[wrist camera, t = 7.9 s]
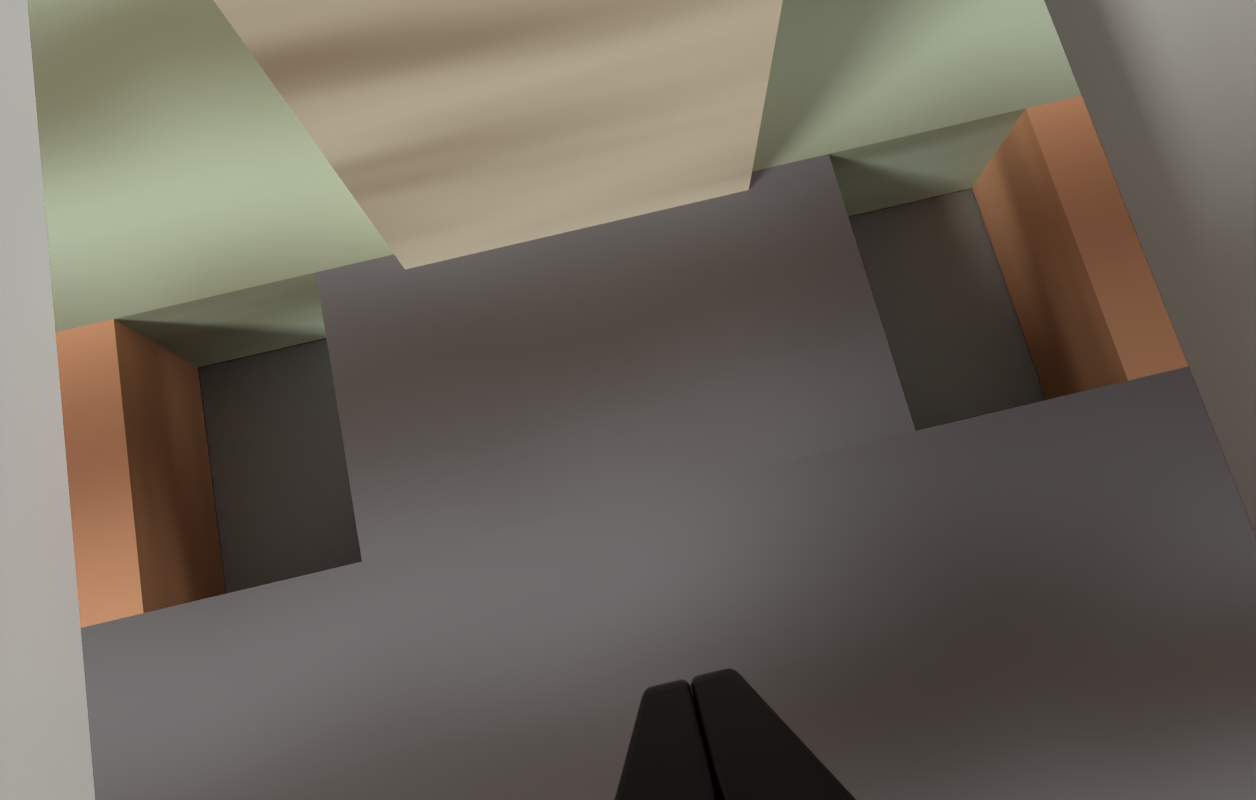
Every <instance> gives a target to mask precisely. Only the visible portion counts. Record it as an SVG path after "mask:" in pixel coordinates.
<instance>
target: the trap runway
mask: <svg viewBox="0 0 1256 800" xmlns="http://www.w3.org/2000/svg"><path fill="white" fill-rule="evenodd" d="M27 1H28V12H29V24H30V36H31V48H32V59H33V71H34V83H35V95H36V106H37V118H38V130H39V142H40V154H41V165H42V177H43V189H44V201H45V212H46V224H47V236H48V248H49V259H50V271H51V283H52V295H53V306H54V318H55V330H56V342H57V353H58V365H59V377H60V389H61V400H62V412H63V424H64V436H65V447H66V459H67V471H68V483H69V494H70V506H71V518H72V530H73V541H74V553H75V565H76V577H77V588H78V600H79V612H80V624H81V635H82V647H83V659H84V671H85V682H86V694H87V706H88V718H89V730H90V741H91V753H92V765H93V777H94V788H95V800H614V799H615V795H616V792H617V788H618V784H619V780H620V776H621V773H622V769H623V765H624V761H625V758H626V754H627V750H628V746H629V743H630V739H631V735H632V731H633V727H634V724H635V720H636V716H637V712H638V709H639V705H640V701H641V697H642V695H643V693H644V691H645V690H646V689H647V688H648V687H651V686H655V685H659V684H663V683H667V682H672V681H676V680H680V679H683V680H686V681H687V682H688V683H689V684H690V686H691V681H692V679H693V678H694V677H695V676H697V675H701V674H705V673H709V672H714V671H718V670H722V669H726V668H731V669H734V670H736V671H737V672H738V673H739V674H740V675H741V676H742V677H743V678H744V679H745V680H746V681H747V682H748V683H749V684H750V685H751V686H752V687H753V689H754V690H755V691H756V692H757V693H758V694H759V695H760V696H761V697H762V698H763V699H764V700H765V701H766V703H767V704H768V705H769V706H770V707H771V708H772V709H773V710H774V711H775V712H776V713H777V714H778V716H779V717H780V718H781V719H782V720H783V721H784V722H785V723H786V724H787V725H788V726H789V727H790V728H791V730H792V731H793V732H794V733H795V734H796V735H797V736H798V737H799V738H800V739H801V740H802V741H803V743H804V744H805V745H806V746H807V747H808V748H809V749H810V750H811V751H812V752H813V753H814V754H815V755H816V757H817V758H818V759H819V760H820V761H821V762H822V763H823V764H824V765H825V766H826V767H827V768H828V770H829V771H830V772H831V773H832V774H833V775H834V776H835V777H836V778H837V779H838V780H839V781H840V782H841V784H842V785H843V786H844V787H845V788H846V789H847V790H848V791H849V792H850V793H851V794H852V795H853V796H854V798H855V799H856V800H1256V536H1255V533H1254V531H1253V528H1252V526H1251V523H1250V521H1249V518H1248V516H1247V513H1246V511H1245V508H1244V505H1243V503H1242V500H1241V498H1240V495H1239V493H1238V490H1237V488H1236V485H1235V483H1234V480H1233V478H1232V475H1231V472H1230V470H1229V467H1228V465H1227V462H1226V460H1225V457H1224V455H1223V452H1222V450H1221V447H1220V445H1219V442H1218V440H1217V437H1216V434H1215V432H1214V429H1213V427H1212V424H1211V422H1210V419H1209V417H1208V414H1207V412H1206V409H1205V407H1204V404H1203V401H1202V399H1201V396H1200V394H1199V391H1198V389H1197V386H1196V384H1195V381H1194V379H1193V376H1192V374H1191V371H1190V369H1189V366H1188V363H1187V361H1186V358H1185V356H1184V353H1183V351H1182V348H1181V346H1180V343H1179V341H1178V338H1177V336H1176V333H1175V331H1174V328H1173V325H1172V323H1171V320H1170V318H1169V315H1168V313H1167V310H1166V308H1165V305H1164V303H1163V300H1162V298H1161V295H1160V292H1159V290H1158V287H1157V285H1156V282H1155V280H1154V277H1153V275H1152V272H1151V270H1150V267H1149V265H1148V262H1147V260H1146V257H1145V254H1144V252H1143V249H1142V247H1141V244H1140V242H1139V239H1138V237H1137V234H1136V232H1135V229H1134V227H1133V224H1132V221H1131V219H1130V216H1129V214H1128V211H1127V209H1126V206H1125V204H1124V201H1123V199H1122V196H1121V194H1120V191H1119V189H1118V186H1117V183H1116V181H1115V178H1114V176H1113V173H1112V171H1111V168H1110V166H1109V163H1108V161H1107V158H1106V156H1105V153H1104V151H1103V148H1102V145H1101V143H1100V140H1099V138H1098V135H1097V133H1096V130H1095V128H1094V125H1093V123H1092V120H1091V118H1090V115H1089V112H1088V110H1087V107H1086V105H1085V102H1084V100H1083V97H1082V95H1081V92H1080V90H1079V87H1078V85H1077V82H1076V80H1075V77H1074V74H1073V72H1072V69H1071V67H1070V64H1069V62H1068V59H1067V57H1066V54H1065V52H1064V49H1063V47H1062V44H1061V42H1060V39H1059V36H1058V34H1057V31H1056V29H1055V26H1054V24H1053V21H1052V19H1051V16H1050V14H1049V11H1048V9H1047V6H1046V3H1045V1H1044V0H783V2H782V8H781V13H780V19H779V24H778V30H777V36H776V41H775V47H774V52H773V58H772V63H771V69H770V74H769V80H768V85H767V91H766V97H765V102H764V108H763V113H762V119H761V124H760V130H759V135H758V141H757V147H756V152H755V158H754V163H753V169H752V174H751V180H750V185H749V190H746V191H742V192H738V193H733V194H729V195H725V196H720V197H716V198H712V199H707V200H703V201H699V202H694V203H690V204H686V205H682V206H677V207H673V208H669V209H664V210H660V211H656V212H651V213H647V214H643V215H638V216H634V217H630V218H625V219H621V220H617V221H612V222H608V223H604V224H599V225H595V226H591V227H587V228H582V229H578V230H574V231H569V232H565V233H561V234H556V235H552V236H548V237H543V238H539V239H535V240H530V241H526V242H522V243H517V244H513V245H509V246H504V247H500V248H496V249H492V250H487V251H483V252H479V253H474V254H470V255H466V256H461V257H457V258H453V259H448V260H444V261H440V262H435V263H431V264H427V265H422V266H418V267H414V268H409V269H404V267H403V266H402V264H401V263H400V262H399V260H398V259H397V257H396V256H395V255H394V253H393V252H392V250H391V249H390V248H389V246H388V245H387V243H386V242H385V241H384V239H383V238H382V236H381V235H380V234H379V232H378V231H377V229H376V228H375V227H374V225H373V224H372V222H371V221H370V219H369V218H368V217H367V215H366V214H365V212H364V211H363V210H362V208H361V207H360V205H359V204H358V203H357V201H356V200H355V198H354V197H353V196H352V194H351V193H350V191H349V190H348V189H347V187H346V186H345V184H344V183H343V182H342V180H341V179H340V177H339V176H338V175H337V173H336V172H335V170H334V169H333V168H332V166H331V165H330V163H329V162H328V160H327V159H326V158H325V156H324V155H323V153H322V152H321V151H320V149H319V148H318V146H317V145H316V144H315V142H314V141H313V139H312V138H311V137H310V135H309V134H308V132H307V131H306V130H305V128H304V127H303V125H302V124H301V123H300V121H299V120H298V118H297V117H296V116H295V114H294V113H293V111H292V110H291V108H290V107H289V106H288V104H287V103H286V101H285V100H284V99H283V97H282V96H281V94H280V93H279V92H278V90H277V89H276V87H275V86H274V85H273V83H272V82H271V80H270V79H269V78H268V76H267V75H266V73H265V72H264V71H263V69H262V68H261V66H260V65H259V64H258V62H257V61H256V59H255V58H254V56H253V55H252V54H251V52H250V51H249V49H248V48H247V47H246V45H245V44H244V42H243V41H242V40H241V38H240V37H239V35H238V34H237V33H236V31H235V30H234V28H233V27H232V26H231V24H230V23H229V21H228V20H227V19H226V17H225V16H224V14H223V13H222V12H221V10H220V9H219V7H218V6H217V5H216V3H215V2H214V0H27ZM970 188H972V189H973V192H974V195H975V198H976V201H977V203H978V206H979V209H980V212H981V215H982V218H983V220H984V223H985V226H986V229H987V232H988V235H989V237H990V240H991V243H992V246H993V249H994V252H995V254H996V257H997V260H998V263H999V266H1000V269H1001V271H1002V274H1003V277H1004V280H1005V283H1006V286H1007V288H1008V291H1009V294H1010V297H1011V300H1012V303H1013V306H1014V308H1015V311H1016V314H1017V317H1018V320H1019V323H1020V325H1021V328H1022V331H1023V334H1024V337H1025V340H1026V342H1027V345H1028V348H1029V351H1030V354H1031V357H1032V359H1033V362H1034V365H1035V368H1036V371H1037V374H1038V376H1039V379H1040V382H1041V385H1042V388H1043V391H1044V393H1045V396H1046V399H1047V400H1044V401H1040V402H1036V403H1031V404H1027V405H1023V406H1019V407H1014V408H1010V409H1006V410H1002V411H997V412H993V413H989V414H985V415H980V416H976V417H972V418H968V419H964V420H959V421H955V422H951V423H947V424H942V425H938V426H934V427H930V428H925V429H921V430H917V431H916V430H915V427H914V424H913V421H912V417H911V414H910V411H909V408H908V405H907V401H906V398H905V395H904V392H903V389H902V386H901V382H900V379H899V376H898V373H897V370H896V366H895V363H894V360H893V357H892V354H891V351H890V347H889V344H888V341H887V338H886V335H885V331H884V328H883V325H882V322H881V319H880V316H879V312H878V309H877V306H876V303H875V300H874V296H873V293H872V290H871V287H870V284H869V281H868V277H867V274H866V271H865V268H864V265H863V261H862V258H861V255H860V252H859V249H858V245H857V242H856V239H855V236H854V233H853V230H852V226H851V223H850V220H849V216H853V215H858V214H862V213H866V212H871V211H875V210H879V209H883V208H888V207H892V206H896V205H901V204H905V203H909V202H914V201H918V200H922V199H927V198H931V197H935V196H939V195H944V194H948V193H952V192H957V191H961V190H965V189H970ZM323 338H326V340H327V346H328V352H329V359H330V365H331V371H332V378H333V384H334V390H335V396H336V403H337V409H338V415H339V421H340V428H341V434H342V440H343V446H344V453H345V459H346V465H347V472H348V478H349V484H350V490H351V497H352V503H353V509H354V515H355V522H356V528H357V534H358V540H359V547H360V553H361V559H362V562H358V563H354V564H349V565H345V566H341V567H337V568H332V569H328V570H324V571H320V572H316V573H311V574H307V575H303V576H299V577H294V578H290V579H286V580H282V581H277V582H273V583H269V584H265V585H261V586H256V587H252V588H248V589H244V590H239V591H235V592H231V593H227V594H226V591H225V583H224V575H223V567H222V559H221V551H220V543H219V534H218V526H217V518H216V510H215V502H214V494H213V486H212V478H211V470H210V461H209V453H208V445H207V437H206V429H205V421H204V413H203V405H202V396H201V388H200V380H199V372H198V367H203V366H207V365H211V364H216V363H220V362H224V361H229V360H233V359H237V358H241V357H246V356H250V355H254V354H259V353H263V352H267V351H272V350H276V349H280V348H285V347H289V346H293V345H297V344H302V343H306V342H310V341H315V340H319V339H323ZM691 690H692V689H691ZM692 694H693V693H692Z"/></svg>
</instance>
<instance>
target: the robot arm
mask: <svg viewBox="0 0 1256 800" xmlns="http://www.w3.org/2000/svg"><path fill="white" fill-rule="evenodd" d="M691 689H692V690H691ZM692 693H693V694H692ZM614 800H856V799H855V798H854V796H853V795H852V794H851V793H850V792H849V791H848V790H847V789H846V788H845V787H844V786H843V785H842V784H841V782H840V781H839V780H838V779H837V778H836V777H835V776H834V775H833V774H832V773H831V772H830V771H829V770H828V768H827V767H826V766H825V765H824V764H823V763H822V762H821V761H820V760H819V759H818V758H817V757H816V755H815V754H814V753H813V752H812V751H811V750H810V749H809V748H808V747H807V746H806V745H805V744H804V743H803V741H802V740H801V739H800V738H799V737H798V736H797V735H796V734H795V733H794V732H793V731H792V730H791V728H790V727H789V726H788V725H787V724H786V723H785V722H784V721H783V720H782V719H781V718H780V717H779V716H778V714H777V713H776V712H775V711H774V710H773V709H772V708H771V707H770V706H769V705H768V704H767V703H766V701H765V700H764V699H763V698H762V697H761V696H760V695H759V694H758V693H757V692H756V691H755V690H754V689H753V687H752V686H751V685H750V684H749V683H748V682H747V681H746V680H745V679H744V678H743V677H742V676H741V675H740V674H739V673H738V672H737V671H736V670H734V669H731V668H726V669H722V670H718V671H714V672H709V673H705V674H701V675H697V676H695V677H694V678H693V679H692V681H691V686H690V684H689V683H688V682H687V681H686V680H683V679H680V680H676V681H672V682H667V683H663V684H659V685H655V686H651V687H648V688H647V689H646V690H645V691H644V693H643V695H642V697H641V701H640V705H639V709H638V712H637V716H636V720H635V724H634V727H633V731H632V735H631V739H630V743H629V746H628V750H627V754H626V758H625V761H624V765H623V769H622V773H621V776H620V780H619V784H618V788H617V792H616V795H615V799H614Z"/></svg>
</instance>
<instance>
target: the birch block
mask: <svg viewBox="0 0 1256 800" xmlns="http://www.w3.org/2000/svg"><path fill="white" fill-rule="evenodd" d="M214 2H215V3H216V5H217V6H218V7H219V9H220V10H221V12H222V13H223V14H224V16H225V17H226V19H227V20H228V21H229V23H230V24H231V26H232V27H233V28H234V30H235V31H236V33H237V34H238V35H239V37H240V38H241V40H242V41H243V42H244V44H245V45H246V47H247V48H248V49H249V51H250V52H251V54H252V55H253V56H254V58H255V59H256V61H257V62H258V64H259V65H260V66H261V68H262V69H263V71H264V72H265V73H266V75H267V76H268V78H269V79H270V80H271V82H272V83H273V85H274V86H275V87H276V89H277V90H278V92H279V93H280V94H281V96H282V97H283V99H284V100H285V101H286V103H287V104H288V106H289V107H290V108H291V110H292V111H293V113H294V114H295V116H296V117H297V118H298V120H299V121H300V123H301V124H302V125H303V127H304V128H305V130H306V131H307V132H308V134H309V135H310V137H311V138H312V139H313V141H314V142H315V144H316V145H317V146H318V148H319V149H320V151H321V152H322V153H323V155H324V156H325V158H326V159H327V160H328V162H329V163H330V165H331V166H332V168H333V169H334V170H335V172H336V173H337V175H338V176H339V177H340V179H341V180H342V182H343V183H344V184H345V186H346V187H347V189H348V190H349V191H350V193H351V194H352V196H353V197H354V198H355V200H356V201H357V203H358V204H359V205H360V207H361V208H362V210H363V211H364V212H365V214H366V215H367V217H368V218H369V219H370V221H371V222H372V224H373V225H374V227H375V228H376V229H377V231H378V232H379V234H380V235H381V236H382V238H383V239H384V241H385V242H386V243H387V245H388V246H389V248H390V249H391V250H392V252H393V253H394V255H395V256H396V257H397V259H398V260H399V262H400V263H401V264H402V266H403V267H404V269H409V268H414V267H418V266H422V265H427V264H431V263H435V262H440V261H444V260H448V259H453V258H457V257H461V256H466V255H470V254H474V253H479V252H483V251H487V250H492V249H496V248H500V247H504V246H509V245H513V244H517V243H522V242H526V241H530V240H535V239H539V238H543V237H548V236H552V235H556V234H561V233H565V232H569V231H574V230H578V229H582V228H587V227H591V226H595V225H599V224H604V223H608V222H612V221H617V220H621V219H625V218H630V217H634V216H638V215H643V214H647V213H651V212H656V211H660V210H664V209H669V208H673V207H677V206H682V205H686V204H690V203H694V202H699V201H703V200H707V199H712V198H716V197H720V196H725V195H729V194H733V193H738V192H742V191H746V190H749V185H750V180H751V174H752V169H753V163H754V158H755V152H756V147H757V141H758V135H759V130H760V124H761V119H762V113H763V108H764V102H765V97H766V91H767V85H768V80H769V74H770V69H771V63H772V58H773V52H774V47H775V41H776V36H777V30H778V24H779V19H780V13H781V8H782V2H783V0H214Z"/></svg>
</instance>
